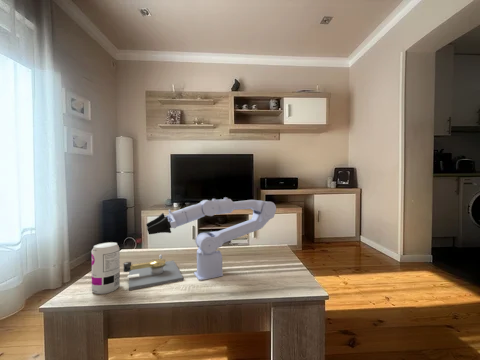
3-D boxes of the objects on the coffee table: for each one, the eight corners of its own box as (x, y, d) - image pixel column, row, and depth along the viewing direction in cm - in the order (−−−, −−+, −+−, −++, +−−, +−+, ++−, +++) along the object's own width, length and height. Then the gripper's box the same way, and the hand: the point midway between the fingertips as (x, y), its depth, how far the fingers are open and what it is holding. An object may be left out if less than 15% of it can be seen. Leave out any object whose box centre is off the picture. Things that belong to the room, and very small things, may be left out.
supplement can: (88, 296, 74) (87, 249, 74) (96, 285, 82) (96, 242, 82) (116, 293, 76) (116, 247, 76) (121, 282, 84) (121, 241, 84)
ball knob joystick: (164, 262, 95) (164, 255, 95) (166, 267, 89) (166, 259, 89) (123, 268, 88) (123, 261, 88) (123, 274, 83) (123, 266, 83)
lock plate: (173, 262, 104) (173, 251, 104) (183, 280, 85) (183, 266, 85) (127, 269, 97) (127, 257, 97) (127, 290, 78) (127, 275, 78)
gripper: (178, 203, 93) (143, 215, 88) (185, 208, 80) (144, 222, 74) (183, 220, 94) (149, 232, 89) (191, 227, 81) (151, 242, 75)
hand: (147, 229), depth 82 cm, fingers open, 7 cm apart
